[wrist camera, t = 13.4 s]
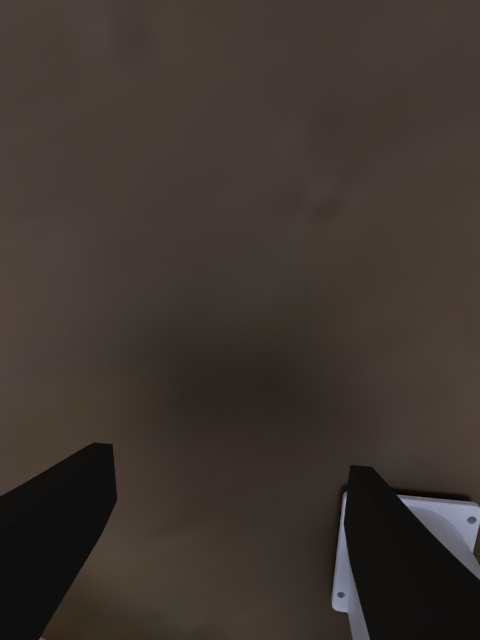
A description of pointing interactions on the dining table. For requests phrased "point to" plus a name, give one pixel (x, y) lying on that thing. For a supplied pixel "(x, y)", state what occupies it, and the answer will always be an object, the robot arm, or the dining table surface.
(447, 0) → the dining table surface
